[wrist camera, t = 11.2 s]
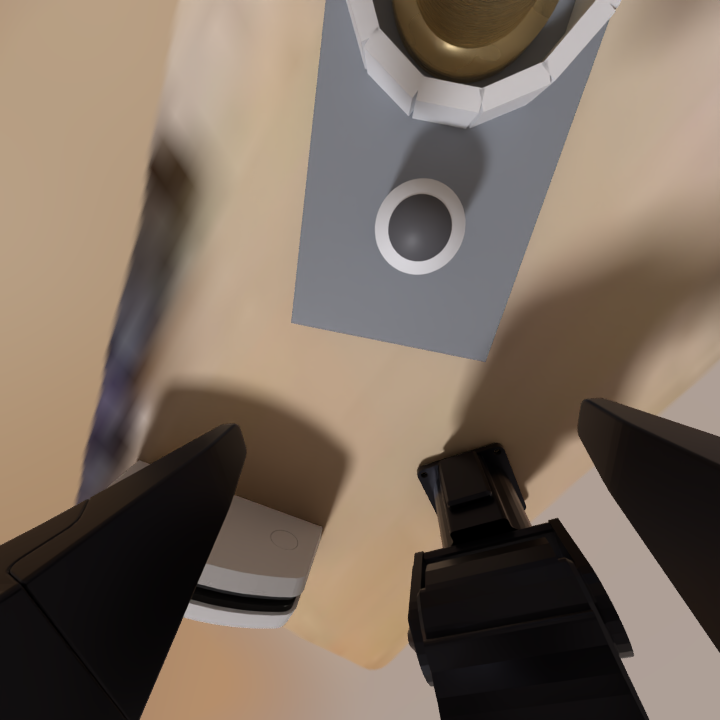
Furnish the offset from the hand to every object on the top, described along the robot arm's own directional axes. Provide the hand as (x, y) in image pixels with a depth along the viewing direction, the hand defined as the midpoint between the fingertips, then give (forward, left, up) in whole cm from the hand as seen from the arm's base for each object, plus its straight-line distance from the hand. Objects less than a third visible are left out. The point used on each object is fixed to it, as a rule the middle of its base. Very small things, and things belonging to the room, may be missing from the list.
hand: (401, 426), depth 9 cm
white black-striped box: (-10, +19, -14) cm, 26 cm away
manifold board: (+8, -6, -13) cm, 16 cm away
